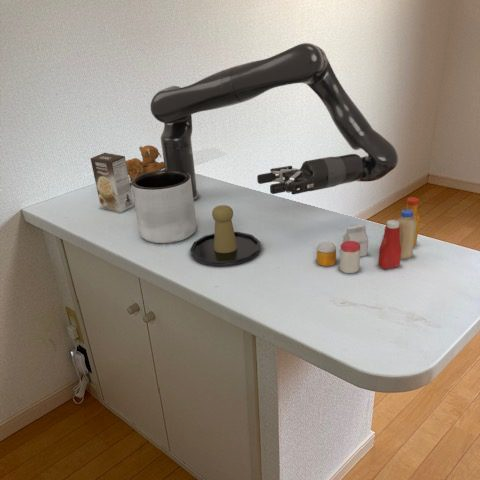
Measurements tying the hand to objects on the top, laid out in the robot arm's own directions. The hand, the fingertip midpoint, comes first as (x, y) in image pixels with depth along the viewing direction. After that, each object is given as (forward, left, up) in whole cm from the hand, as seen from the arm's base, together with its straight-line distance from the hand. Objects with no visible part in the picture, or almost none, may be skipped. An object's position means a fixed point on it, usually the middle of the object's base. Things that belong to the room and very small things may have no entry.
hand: (264, 184), depth 127 cm
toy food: (+28, +5, -16) cm, 32 cm away
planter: (-27, -8, -16) cm, 33 cm away
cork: (-6, -9, -15) cm, 19 cm away
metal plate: (-6, -9, -15) cm, 19 cm away
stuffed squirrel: (-62, +19, -16) cm, 67 cm away
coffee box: (-56, -1, -16) cm, 58 cm away
